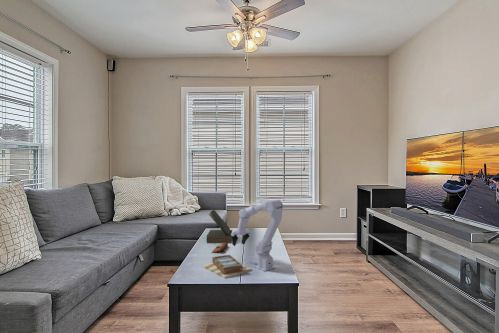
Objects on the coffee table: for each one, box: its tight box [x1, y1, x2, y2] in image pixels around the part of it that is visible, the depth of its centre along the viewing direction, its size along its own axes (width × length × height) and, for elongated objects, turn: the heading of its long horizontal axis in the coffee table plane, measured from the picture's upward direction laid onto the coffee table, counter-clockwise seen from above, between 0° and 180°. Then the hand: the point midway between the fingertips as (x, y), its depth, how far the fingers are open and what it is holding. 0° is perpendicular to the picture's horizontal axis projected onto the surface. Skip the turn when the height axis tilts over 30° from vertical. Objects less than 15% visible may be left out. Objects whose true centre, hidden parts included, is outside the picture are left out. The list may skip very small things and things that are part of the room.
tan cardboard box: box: [211, 254, 244, 274], centre depth 182 cm, size 22×12×4 cm, turn 24°
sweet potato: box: [211, 243, 229, 254], centre depth 222 cm, size 18×7×7 cm
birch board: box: [202, 262, 252, 279], centre depth 182 cm, size 24×20×1 cm
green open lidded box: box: [205, 209, 233, 244], centre depth 251 cm, size 23×20×25 cm
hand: (238, 244), depth 199 cm, fingers open, 7 cm apart
